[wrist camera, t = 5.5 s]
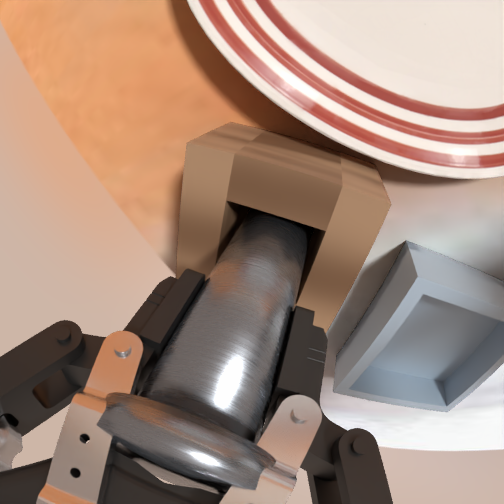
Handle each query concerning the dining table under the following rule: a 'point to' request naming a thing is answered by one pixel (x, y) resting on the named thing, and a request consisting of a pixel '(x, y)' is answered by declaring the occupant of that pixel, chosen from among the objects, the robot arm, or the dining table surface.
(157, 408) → the pin
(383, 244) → the dining table surface
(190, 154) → the block
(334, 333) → the dining table surface
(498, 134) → the dinner plate
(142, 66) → the dining table surface
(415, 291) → the tray
